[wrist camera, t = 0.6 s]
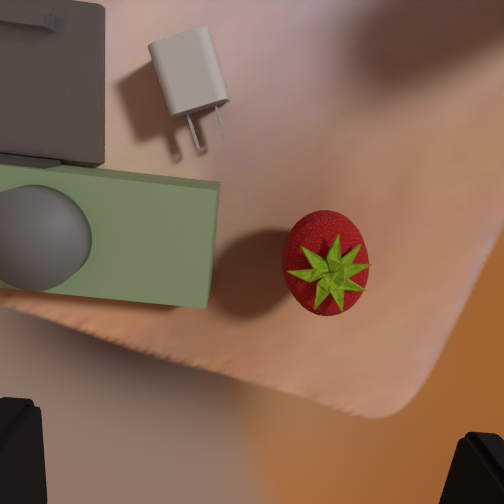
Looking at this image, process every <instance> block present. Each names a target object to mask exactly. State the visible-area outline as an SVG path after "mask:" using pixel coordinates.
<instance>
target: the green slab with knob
mask: <svg viewBox="0 0 504 504" xmlns="http://www.w3.org/2000/svg"><path fill="white" fill-rule="evenodd" d="M219 193H220V182H212V181H203V180H195V179H186V178H177V177H168V176H160V175H151V174H142V173H134V172H125V171H116V170H108V169H99V168H90V167H81V166H73V165H64V164H61V160H56V159H47V158H38V157H30V156H21V155H12V154H4V153H0V288H6V289H15V290H25V291H35V292H45V293H55V294H65V295H75V296H85V297H95V298H105V299H115V300H125V301H135V302H145V303H155V304H165V305H175V306H185V307H195V308H205V309H206V307H207V303H208V298H209V294H210V289H211V281H212V270H213V259H214V248H215V237H216V226H217V215H218V204H219Z"/></svg>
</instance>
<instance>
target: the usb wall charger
mask: <svg viewBox="0 0 504 504" xmlns="http://www.w3.org/2000/svg"><path fill="white" fill-rule="evenodd" d="M148 49H149V52H150V55H151V59H152V62H153V65H154V68H155V71H156V74H157V77H158V80H159V83H160V86H161V89H162V92H163V95H164V98H165V101H166V104H167V107H168V110H169V113H170V116H174V117H180V116H184V115H186V116H187V119H188V122H189V125H190V129H191V132H192V135H193V138H194V141H195V144H196V147H197V149H200V146H199V143H198V140H197V136H196V133H195V130H194V127H193V124H192V121H191V117H190V114H191V113H194V112H197V111H200V110H204V109H207V108H210V107H215V110H216V114H217V117H218V120H219V124H220V127H221V130H222V134H223V137H224V140H225V141H227V138H226V135H225V131H224V128H223V124H222V121H221V118H220V114H219V111H218V107H217V105H220V104H223V103H226V102H229V97H228V94H227V90H226V87H225V83H224V80H223V76H222V73H221V69H220V66H219V62H218V59H217V55H216V51H215V48H214V44H213V41H212V37H211V35H210V32H209V30H208V28H207V27H200V28H196V29H193V30H190V31H187V32H183V33H180V34H177V35H174V36H171V37H168V38H165V39H162V40H159V41H156V42H153V43H151V44H149V45H148Z"/></svg>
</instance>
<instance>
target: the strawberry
mask: <svg viewBox="0 0 504 504" xmlns="http://www.w3.org/2000/svg"><path fill="white" fill-rule="evenodd" d="M369 266H371V264H369V260H368V253H367V250H366V247H365V244H364V240H363V238H362V236H361V234H360V232H359V230H358V229H357V227H356V226H355V225H354V224H353V222H352V221H350V220H349V219H348V218H347V217H345V216H344V215H342V214H340V213H338V212H334V211H329V210H322V211H316V212H313V213H310V214H308V215H306V216H305V217H303V218H302V219H301V220H300V221H298V222H297V223H296V224H295V226H294V227H293V228H292V230H291V231H290V233H289V235H288V237H287V239H286V242H285V246H284V249H283V256H282V267H283V273H284V278H285V281H286V283H287V286H288V288H289V290H290V291H291V293H292V295H293V296H294V297H295V299H296V300H297V301H298V302H299V303H300V304H301V305H302V306H303V307H304V308H305V309H307V310H308V311H310V312H312V313H314V314H317V315H322V316H333V315H337V314H340V313H342V312H344V311H346V310H348V309H349V308H350V307H352V306H353V305H354V304H355V303H356V301H357V300H358V299H359V298H360V296H361V294H362V293H363V291H365V289H364V288H365V286H366V283H367V279H368V274H369Z"/></svg>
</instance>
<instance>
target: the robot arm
mask: <svg viewBox="0 0 504 504" xmlns="http://www.w3.org/2000/svg"><path fill="white" fill-rule="evenodd" d="M0 504H47V487H46V473H45V459H44V445H43V431H42V417H41V409H40V408H39V407H35V406H34V403H33V401H32V400H31V399H24V398H11V397H3V398H1V399H0ZM439 504H504V440H503V439H502V438H501V437H500V436H499V435H497V434H495V433H482V432H468V433H467V434H466V435H465V437H464V438H461V439H460V440H459V441H458V444H457V447H456V450H455V453H454V457H453V460H452V463H451V466H450V470H449V472H448V476H447V479H446V482H445V485H444V489H443V492H442V495H441V498H440V502H439Z"/></svg>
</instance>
